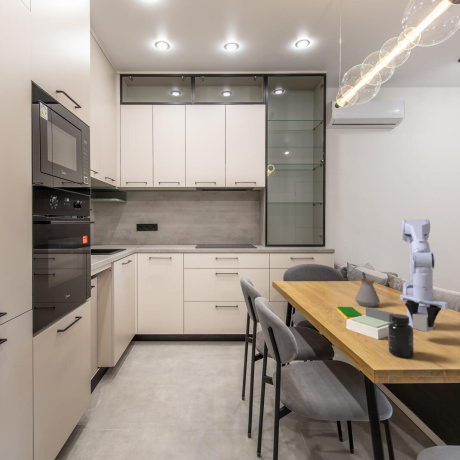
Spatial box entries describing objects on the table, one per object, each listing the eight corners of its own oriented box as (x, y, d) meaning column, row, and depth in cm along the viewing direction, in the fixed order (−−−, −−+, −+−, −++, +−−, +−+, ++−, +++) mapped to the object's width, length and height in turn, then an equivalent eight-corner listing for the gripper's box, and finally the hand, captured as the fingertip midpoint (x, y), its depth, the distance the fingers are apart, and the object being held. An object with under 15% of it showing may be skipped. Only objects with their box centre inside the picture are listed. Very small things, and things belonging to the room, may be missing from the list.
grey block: (419, 325, 103) (419, 312, 103) (433, 329, 99) (433, 315, 99) (412, 328, 101) (412, 314, 101) (426, 332, 97) (426, 317, 97)
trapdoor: (369, 316, 117) (368, 307, 117) (394, 323, 108) (394, 313, 108) (351, 320, 111) (351, 311, 111) (377, 328, 102) (376, 318, 102)
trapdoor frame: (368, 322, 119) (368, 313, 119) (400, 331, 108) (399, 322, 108) (346, 328, 112) (346, 319, 112) (378, 339, 101) (378, 329, 100)
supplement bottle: (404, 349, 92) (404, 312, 92) (418, 358, 86) (418, 319, 86) (383, 349, 92) (383, 312, 92) (396, 359, 85) (396, 319, 85)
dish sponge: (346, 320, 122) (346, 315, 122) (336, 311, 136) (336, 306, 136) (363, 321, 122) (363, 315, 122) (352, 311, 136) (352, 306, 136)
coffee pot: (381, 309, 138) (381, 278, 138) (356, 307, 142) (356, 277, 142) (374, 298, 158) (374, 272, 158) (352, 297, 162) (352, 271, 162)
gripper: (395, 283, 104) (395, 320, 104) (440, 291, 92) (441, 333, 92) (405, 281, 108) (406, 317, 108) (450, 288, 95) (450, 329, 95)
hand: (422, 324), depth 100 cm, fingers closed on grey block, 4 cm apart
